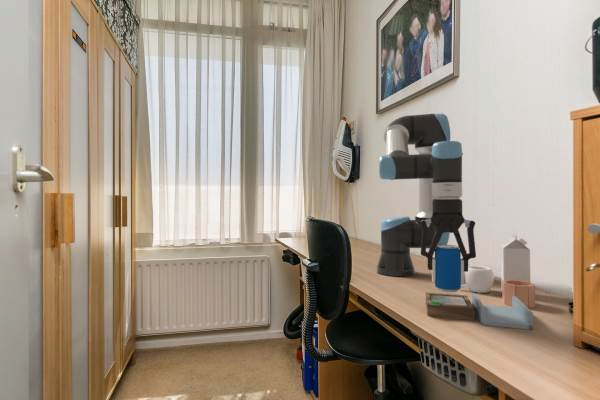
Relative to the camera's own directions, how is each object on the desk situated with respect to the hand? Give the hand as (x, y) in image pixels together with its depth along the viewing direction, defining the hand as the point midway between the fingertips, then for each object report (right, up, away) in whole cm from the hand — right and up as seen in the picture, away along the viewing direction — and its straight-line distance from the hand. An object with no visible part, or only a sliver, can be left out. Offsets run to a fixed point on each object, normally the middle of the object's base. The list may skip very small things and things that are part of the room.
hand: (447, 282), depth 93 cm
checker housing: (0, -8, -1) cm, 8 cm away
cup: (+23, -8, +6) cm, 25 cm away
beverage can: (0, -2, 0) cm, 2 cm away
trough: (+11, -8, -6) cm, 14 cm away
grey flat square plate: (0, -6, -1) cm, 6 cm away
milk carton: (+28, -8, +15) cm, 33 cm away
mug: (+17, -8, +20) cm, 28 cm away
